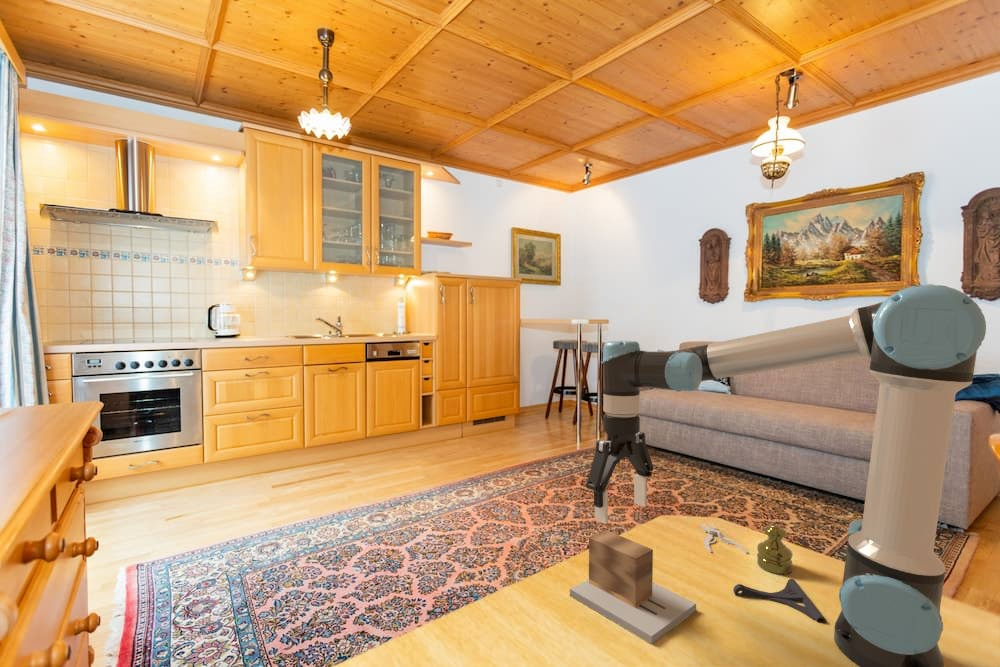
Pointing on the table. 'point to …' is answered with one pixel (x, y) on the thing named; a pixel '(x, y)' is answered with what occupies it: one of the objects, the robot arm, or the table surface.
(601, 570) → the block
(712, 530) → the pliers
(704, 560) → the table surface
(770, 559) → the brass door knob
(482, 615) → the table surface
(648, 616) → the board
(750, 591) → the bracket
